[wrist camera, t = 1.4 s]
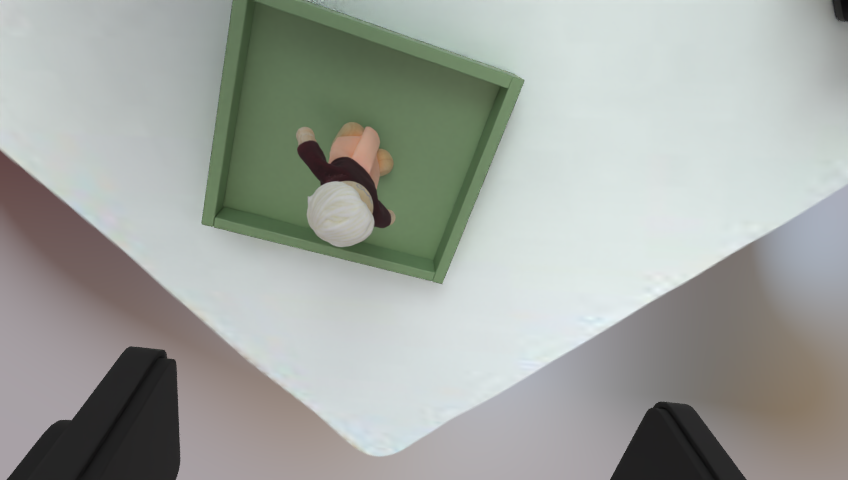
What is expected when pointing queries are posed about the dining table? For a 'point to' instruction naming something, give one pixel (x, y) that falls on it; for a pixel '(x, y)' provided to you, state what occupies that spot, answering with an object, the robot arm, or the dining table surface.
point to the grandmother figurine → (346, 184)
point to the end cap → (841, 9)
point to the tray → (342, 103)
